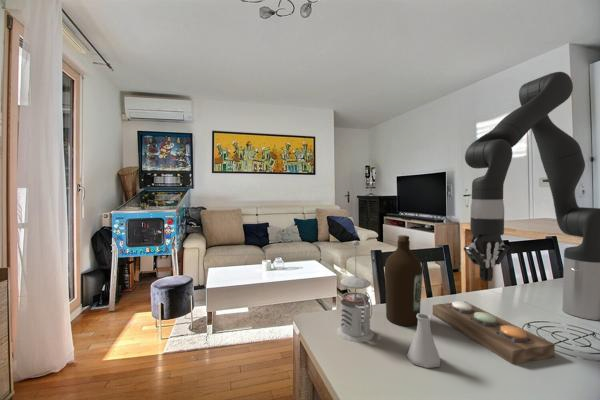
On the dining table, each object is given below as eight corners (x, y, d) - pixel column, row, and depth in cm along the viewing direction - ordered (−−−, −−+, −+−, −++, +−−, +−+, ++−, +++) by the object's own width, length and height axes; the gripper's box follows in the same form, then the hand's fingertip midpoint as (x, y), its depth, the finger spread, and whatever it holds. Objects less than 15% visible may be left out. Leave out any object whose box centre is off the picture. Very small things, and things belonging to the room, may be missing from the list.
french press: (361, 321, 83) (362, 236, 82) (385, 341, 72) (386, 243, 71) (331, 326, 80) (331, 238, 79) (351, 348, 69) (351, 246, 68)
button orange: (511, 339, 72) (511, 324, 72) (531, 349, 67) (531, 334, 67) (495, 341, 71) (495, 326, 71) (514, 352, 66) (514, 336, 66)
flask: (445, 371, 60) (446, 324, 60) (409, 367, 62) (410, 321, 61) (436, 352, 67) (436, 310, 67) (404, 349, 69) (404, 308, 68)
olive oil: (379, 321, 83) (380, 236, 82) (389, 309, 92) (390, 232, 91) (418, 331, 77) (419, 240, 77) (424, 317, 86) (426, 235, 85)
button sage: (484, 324, 80) (484, 311, 79) (500, 333, 75) (500, 319, 75) (469, 326, 78) (469, 313, 78) (484, 335, 74) (485, 321, 74)
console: (465, 310, 91) (465, 301, 91) (554, 357, 65) (554, 344, 65) (432, 314, 88) (432, 304, 88) (512, 364, 63) (512, 350, 63)
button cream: (462, 312, 87) (462, 300, 87) (475, 320, 83) (475, 307, 82) (448, 314, 86) (448, 302, 86) (460, 321, 81) (461, 308, 81)
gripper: (494, 214, 81) (493, 274, 81) (455, 215, 78) (454, 278, 78) (520, 216, 73) (519, 282, 74) (478, 218, 70) (477, 287, 71)
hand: (486, 280), depth 76 cm, fingers closed
